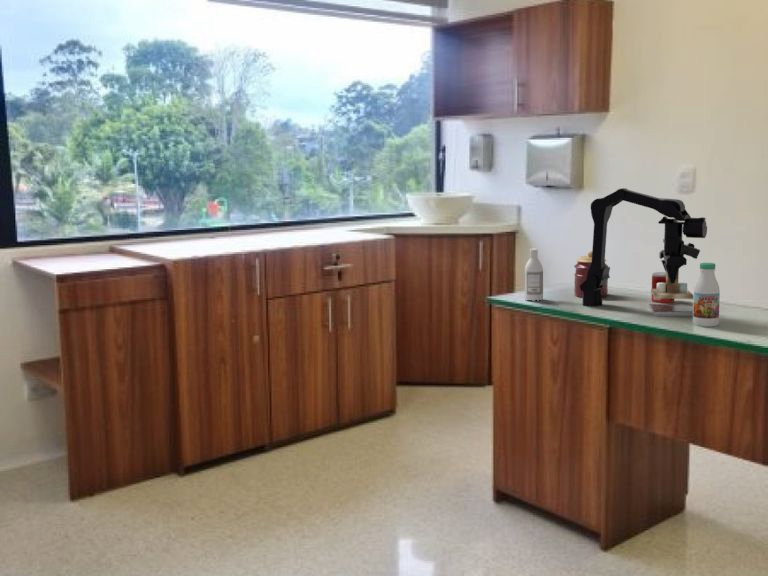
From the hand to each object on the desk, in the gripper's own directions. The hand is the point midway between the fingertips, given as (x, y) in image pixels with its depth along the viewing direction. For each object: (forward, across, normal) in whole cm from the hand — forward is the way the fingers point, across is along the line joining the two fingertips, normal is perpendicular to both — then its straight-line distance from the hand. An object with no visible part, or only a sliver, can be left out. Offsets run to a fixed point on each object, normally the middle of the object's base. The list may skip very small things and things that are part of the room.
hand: (671, 282), depth 264 cm
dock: (+11, 0, 0) cm, 11 cm away
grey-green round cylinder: (+3, 0, -4) cm, 5 cm away
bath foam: (+12, +25, +47) cm, 54 cm away
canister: (+12, +35, +25) cm, 44 cm away
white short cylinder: (+3, 0, +3) cm, 5 cm away
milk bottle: (+11, -17, -8) cm, 22 cm away
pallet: (+5, 0, 0) cm, 5 cm away
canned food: (+11, +20, 0) cm, 23 cm away
